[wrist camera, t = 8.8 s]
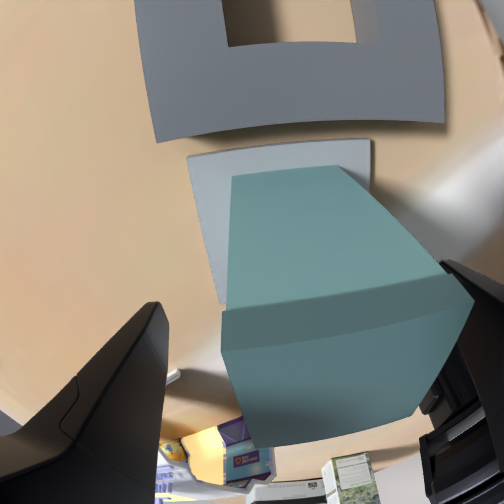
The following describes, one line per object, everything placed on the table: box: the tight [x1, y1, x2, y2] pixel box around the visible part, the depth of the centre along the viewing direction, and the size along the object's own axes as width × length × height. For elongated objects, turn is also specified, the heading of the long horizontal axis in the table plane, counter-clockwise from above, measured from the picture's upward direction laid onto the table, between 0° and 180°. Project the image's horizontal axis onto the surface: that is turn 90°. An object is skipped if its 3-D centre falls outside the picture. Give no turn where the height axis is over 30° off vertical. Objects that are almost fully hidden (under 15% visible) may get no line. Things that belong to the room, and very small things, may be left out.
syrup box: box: [321, 452, 381, 504], centre depth 26 cm, size 6×6×14 cm
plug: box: [221, 165, 475, 449], centre depth 8 cm, size 4×4×8 cm
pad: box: [186, 138, 370, 304], centre depth 12 cm, size 7×7×1 cm
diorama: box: [155, 368, 277, 504], centre depth 18 cm, size 25×10×13 cm, turn 132°
